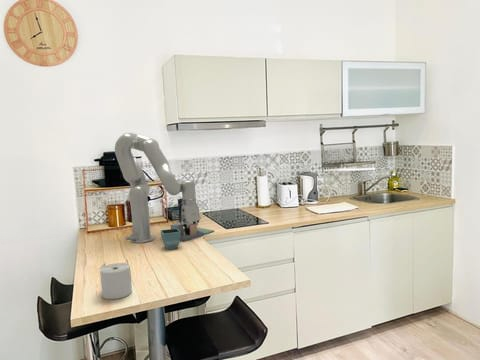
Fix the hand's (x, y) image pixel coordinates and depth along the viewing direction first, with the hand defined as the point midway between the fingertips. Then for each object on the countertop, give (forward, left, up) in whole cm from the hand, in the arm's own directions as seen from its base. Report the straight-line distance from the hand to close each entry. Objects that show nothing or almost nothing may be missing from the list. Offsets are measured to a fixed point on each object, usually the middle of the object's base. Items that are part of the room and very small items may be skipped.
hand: (191, 232), depth 219 cm
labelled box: (0, 0, -2) cm, 2 cm away
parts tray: (-2, +4, -2) cm, 5 cm away
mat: (+11, +4, -2) cm, 12 cm away
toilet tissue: (-69, -36, -2) cm, 78 cm away
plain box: (-4, +7, -2) cm, 9 cm away
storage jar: (+25, +34, -2) cm, 42 cm away
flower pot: (-20, -7, -2) cm, 22 cm away
